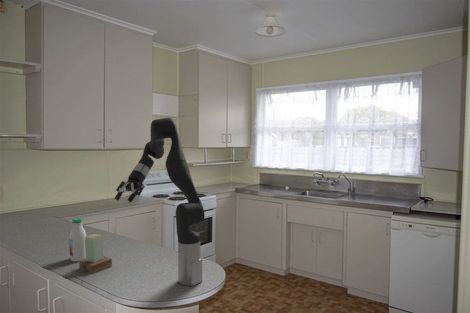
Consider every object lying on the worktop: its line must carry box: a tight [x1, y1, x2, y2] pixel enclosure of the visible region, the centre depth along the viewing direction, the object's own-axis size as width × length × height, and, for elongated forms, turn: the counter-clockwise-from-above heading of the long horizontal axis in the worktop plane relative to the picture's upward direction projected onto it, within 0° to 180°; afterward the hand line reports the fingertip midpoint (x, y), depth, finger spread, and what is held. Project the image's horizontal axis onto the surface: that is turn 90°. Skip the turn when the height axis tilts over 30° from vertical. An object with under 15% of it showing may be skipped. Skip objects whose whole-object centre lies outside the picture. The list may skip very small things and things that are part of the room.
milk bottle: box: [68, 217, 87, 262], centre depth 171 cm, size 8×8×20 cm
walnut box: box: [78, 255, 113, 275], centre depth 161 cm, size 10×10×4 cm
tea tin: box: [85, 233, 105, 263], centre depth 161 cm, size 5×5×11 cm
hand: (122, 200), depth 170 cm, fingers open, 8 cm apart
